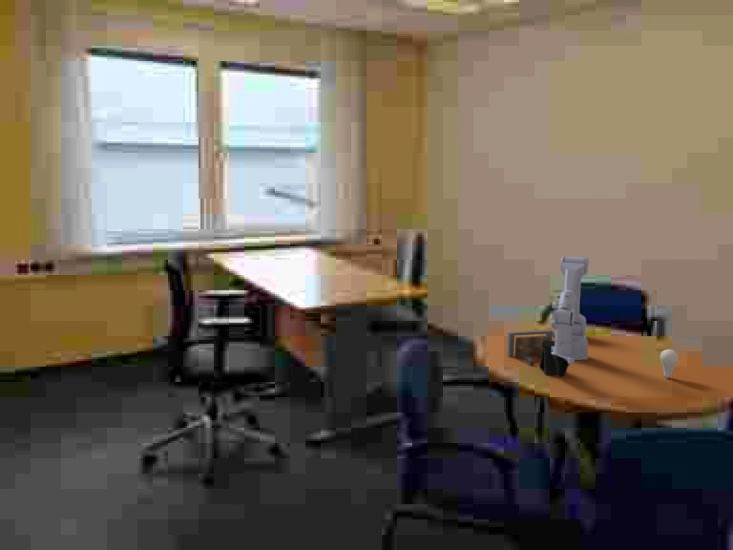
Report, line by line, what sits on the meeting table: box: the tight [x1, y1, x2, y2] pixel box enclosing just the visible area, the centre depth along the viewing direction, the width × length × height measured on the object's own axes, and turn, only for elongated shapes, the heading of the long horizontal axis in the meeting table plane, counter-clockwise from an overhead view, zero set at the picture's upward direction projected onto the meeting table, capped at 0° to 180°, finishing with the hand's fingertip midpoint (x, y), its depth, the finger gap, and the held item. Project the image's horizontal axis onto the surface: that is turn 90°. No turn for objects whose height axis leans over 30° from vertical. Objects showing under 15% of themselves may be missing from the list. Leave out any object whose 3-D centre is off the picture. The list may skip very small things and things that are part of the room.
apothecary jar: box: [549, 295, 560, 337], centre depth 283 cm, size 12×12×18 cm
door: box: [514, 335, 549, 358], centre depth 255 cm, size 14×3×8 cm, turn 99°
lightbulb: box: [659, 348, 679, 379], centre depth 231 cm, size 6×6×11 cm
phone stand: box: [538, 340, 558, 376], centre depth 239 cm, size 9×6×12 cm, turn 0°
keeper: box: [520, 352, 542, 366], centre depth 251 cm, size 10×9×2 cm
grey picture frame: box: [506, 329, 554, 357], centre depth 258 cm, size 19×2×10 cm, turn 99°
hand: (561, 375), depth 231 cm, fingers closed
